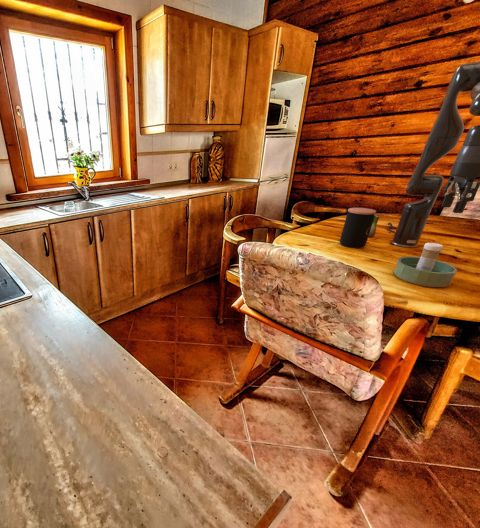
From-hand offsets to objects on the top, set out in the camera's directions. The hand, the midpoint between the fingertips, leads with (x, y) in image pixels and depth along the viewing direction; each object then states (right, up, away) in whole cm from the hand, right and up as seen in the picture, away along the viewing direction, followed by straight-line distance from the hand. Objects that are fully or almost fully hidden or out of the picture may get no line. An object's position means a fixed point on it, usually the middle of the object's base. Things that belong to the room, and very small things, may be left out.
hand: (451, 209), depth 96 cm
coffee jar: (+2, -9, +45) cm, 46 cm away
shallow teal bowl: (0, -24, +10) cm, 27 cm away
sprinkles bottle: (0, -24, +10) cm, 26 cm away
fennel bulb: (+19, -4, +55) cm, 58 cm away
